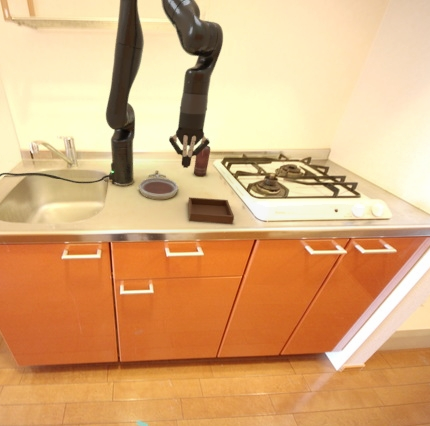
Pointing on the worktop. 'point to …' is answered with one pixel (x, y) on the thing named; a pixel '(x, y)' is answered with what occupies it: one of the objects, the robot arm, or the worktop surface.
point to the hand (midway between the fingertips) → (185, 166)
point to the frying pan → (158, 187)
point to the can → (202, 162)
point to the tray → (210, 210)
